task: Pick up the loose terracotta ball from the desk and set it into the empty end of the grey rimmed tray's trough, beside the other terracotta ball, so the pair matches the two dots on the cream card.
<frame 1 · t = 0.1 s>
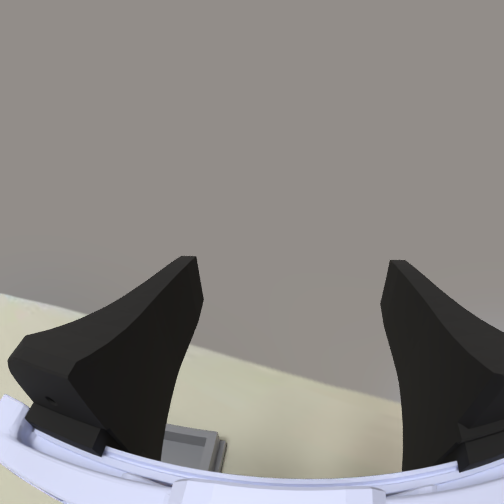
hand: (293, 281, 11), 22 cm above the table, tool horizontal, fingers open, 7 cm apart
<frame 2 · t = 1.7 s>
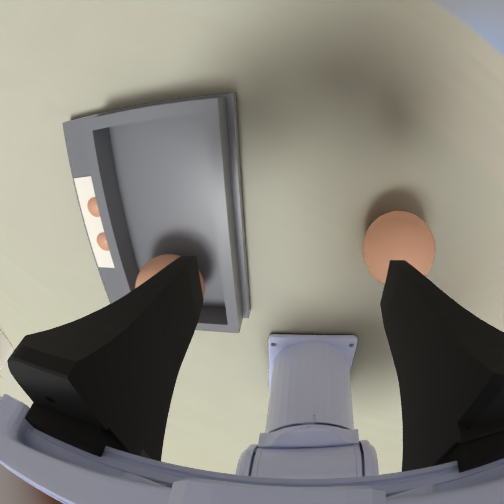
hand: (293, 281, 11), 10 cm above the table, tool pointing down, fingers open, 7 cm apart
resting terracotta ball: (180, 270, 23), point 1 cm above the table, touching grey rimmed tray
grey rimmed tray: (158, 217, 23), on the table
terracotta ball: (389, 231, 21), on the table
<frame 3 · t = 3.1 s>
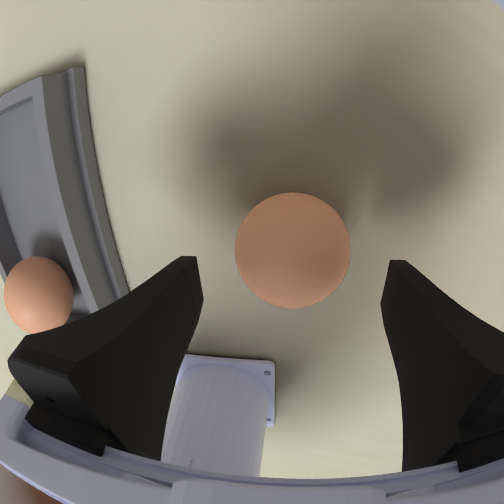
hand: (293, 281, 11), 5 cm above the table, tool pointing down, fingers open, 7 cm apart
resting terracotta ball: (58, 274, 18), point 1 cm above the table, touching grey rimmed tray
grey rimmed tray: (35, 215, 17), on the table
terracotta ball: (293, 225, 16), on the table
skincare box: (39, 388, 32), on the table
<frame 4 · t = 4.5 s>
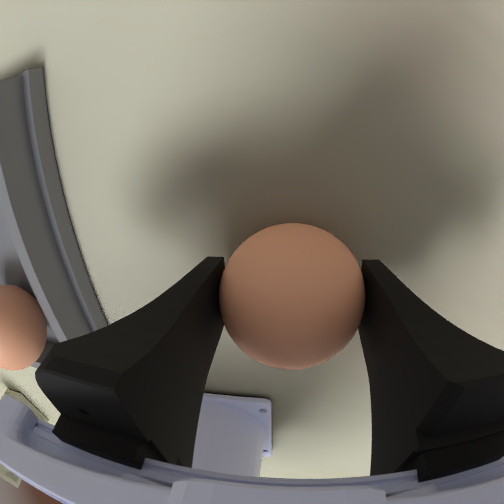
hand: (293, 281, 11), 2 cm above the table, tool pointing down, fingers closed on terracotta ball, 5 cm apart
resting terracotta ball: (31, 301, 15), point 1 cm above the table, touching grey rimmed tray
grey rimmed tray: (4, 237, 14), on the table
terracotta ball: (293, 258, 13), on the table, touching gripper
skincare box: (29, 404, 29), on the table
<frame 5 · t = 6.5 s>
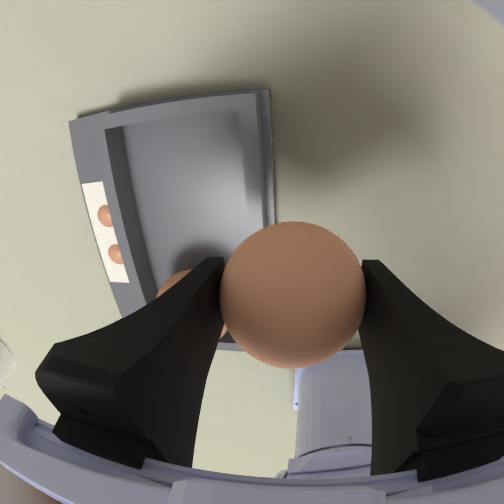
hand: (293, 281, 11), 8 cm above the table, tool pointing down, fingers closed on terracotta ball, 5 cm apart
cylindrical container: (2, 349, 36), on the table
resting terracotta ball: (203, 285, 21), point 1 cm above the table, touching grey rimmed tray
grey rimmed tray: (178, 227, 21), on the table
terracotta ball: (294, 257, 13), point 7 cm above the table, touching gripper
when the fingers open (4 cm above the table, at t = 8.8 s): terracotta ball drops 1 cm, resting on grey rimmed tray.
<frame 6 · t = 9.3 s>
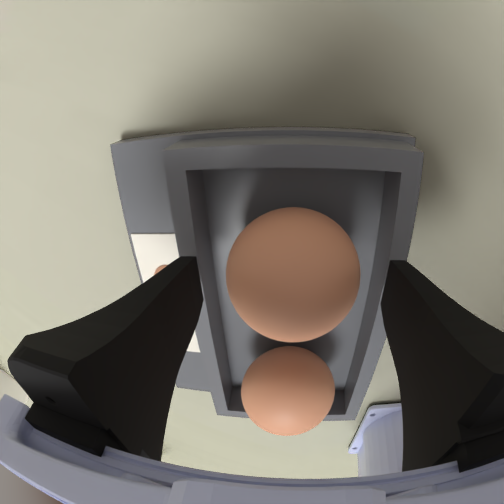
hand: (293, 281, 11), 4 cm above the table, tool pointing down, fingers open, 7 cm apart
cylindrical container: (11, 382, 32), on the table
resting terracotta ball: (290, 357, 17), point 1 cm above the table, touching grey rimmed tray
grey rimmed tray: (264, 292, 17), on the table
terracotta ball: (293, 242, 14), point 1 cm above the table, touching grey rimmed tray
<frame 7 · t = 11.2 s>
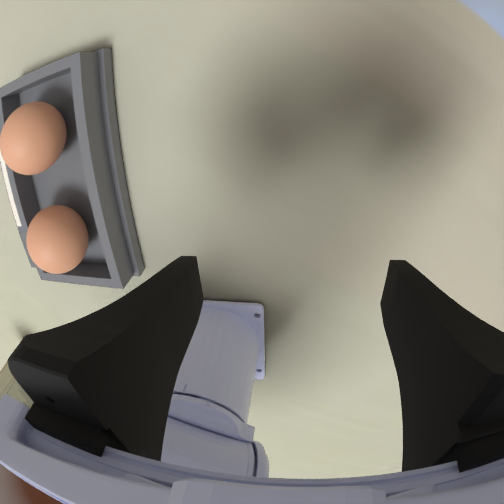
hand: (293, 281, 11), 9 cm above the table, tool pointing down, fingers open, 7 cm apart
resting terracotta ball: (75, 224, 21), point 1 cm above the table, touching grey rimmed tray
grey rimmed tray: (58, 174, 20), on the table
terracotta ball: (55, 130, 18), point 1 cm above the table, touching grey rimmed tray
skincare box: (42, 354, 35), on the table
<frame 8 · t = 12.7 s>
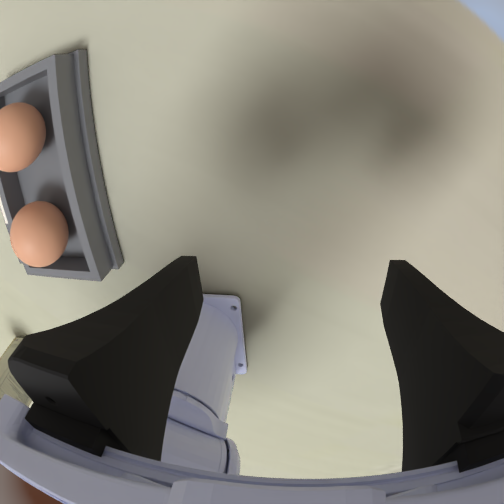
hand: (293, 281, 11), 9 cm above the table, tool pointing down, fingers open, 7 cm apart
resting terracotta ball: (57, 219, 21), point 1 cm above the table, touching grey rimmed tray
grey rimmed tray: (41, 171, 21), on the table
terracotta ball: (37, 129, 18), point 1 cm above the table, touching grey rimmed tray
skincare box: (34, 351, 35), on the table
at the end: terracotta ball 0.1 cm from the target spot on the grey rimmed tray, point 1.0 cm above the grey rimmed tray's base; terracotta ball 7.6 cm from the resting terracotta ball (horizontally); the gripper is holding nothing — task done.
